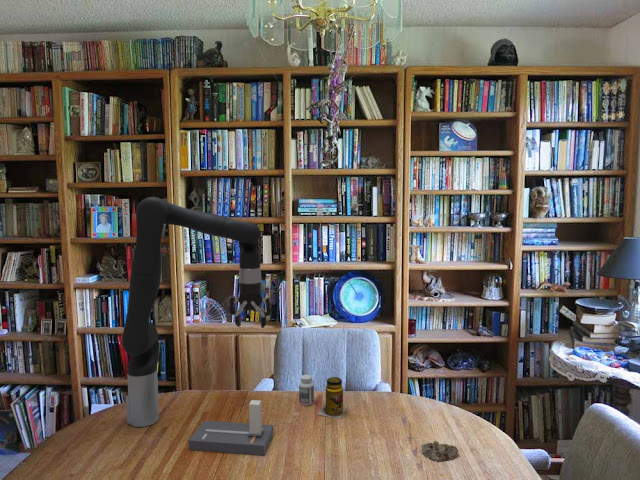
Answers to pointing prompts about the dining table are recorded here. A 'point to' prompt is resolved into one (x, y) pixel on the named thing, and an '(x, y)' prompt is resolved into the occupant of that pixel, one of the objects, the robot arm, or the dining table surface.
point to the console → (230, 438)
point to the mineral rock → (439, 451)
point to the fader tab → (255, 418)
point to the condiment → (333, 399)
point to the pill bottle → (306, 390)
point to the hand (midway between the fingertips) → (251, 326)
